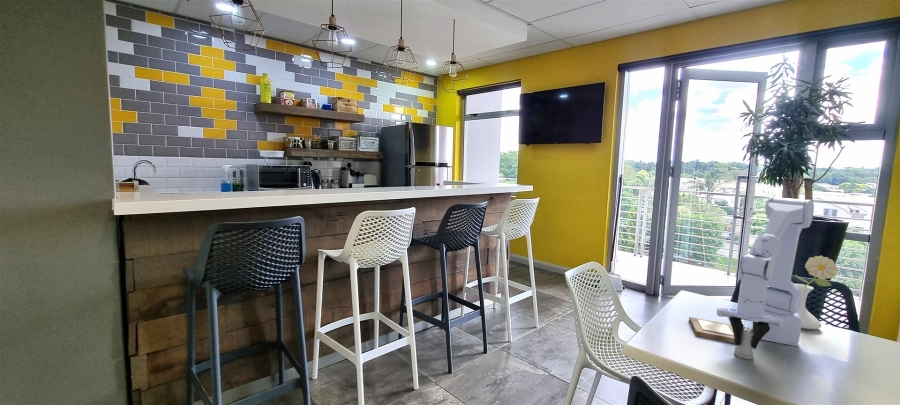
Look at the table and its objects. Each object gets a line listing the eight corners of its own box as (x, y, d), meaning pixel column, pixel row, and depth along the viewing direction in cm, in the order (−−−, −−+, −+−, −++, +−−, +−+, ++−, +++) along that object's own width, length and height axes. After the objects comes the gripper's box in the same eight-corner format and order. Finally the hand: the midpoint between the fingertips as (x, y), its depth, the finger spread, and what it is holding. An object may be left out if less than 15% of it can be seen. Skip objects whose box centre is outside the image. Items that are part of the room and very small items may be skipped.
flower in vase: (772, 323, 128) (783, 252, 125) (777, 315, 135) (788, 248, 132) (826, 338, 118) (839, 261, 115) (828, 328, 126) (841, 256, 123)
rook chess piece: (757, 361, 102) (761, 333, 101) (738, 358, 103) (742, 331, 102) (747, 353, 106) (751, 326, 105) (730, 350, 107) (733, 324, 106)
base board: (739, 330, 121) (740, 325, 121) (751, 346, 110) (752, 341, 110) (688, 321, 126) (689, 316, 126) (695, 335, 116) (696, 330, 115)
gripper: (723, 298, 102) (717, 345, 103) (791, 309, 96) (783, 358, 97) (717, 290, 108) (711, 334, 110) (780, 300, 102) (773, 346, 104)
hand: (744, 345), depth 104 cm, fingers closed on rook chess piece, 3 cm apart
